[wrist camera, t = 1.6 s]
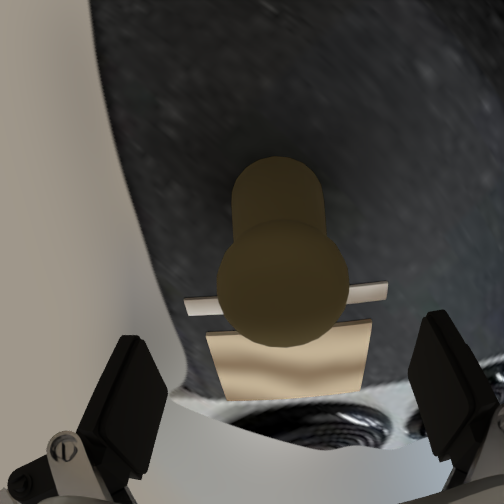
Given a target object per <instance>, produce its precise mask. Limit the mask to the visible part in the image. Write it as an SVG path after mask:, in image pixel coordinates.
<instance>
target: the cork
mask: <svg viewBox="0 0 504 504" xmlns="http://www.w3.org/2000/svg"><path fill="white" fill-rule="evenodd" d="M231 206H232V222H233V238H234V243H233V244H232V245H231V246H230V247H229V248H228V250H227V251H226V252H225V254H224V257H223V259H222V262H221V265H220V267H219V270H218V274H217V297H218V302H219V305H220V307H221V309H222V312H223V314H224V316H225V318H226V319H227V320H228V322H229V323H230V324H231V325H232V326H233V327H234V328H235V329H236V330H237V332H238V333H239V334H240V335H242V336H244V337H245V338H247V339H249V340H251V341H252V342H254V343H258V344H261V345H265V346H268V347H280V348H288V347H294V346H300V345H304V344H307V343H309V342H311V341H314V340H316V339H318V338H320V337H321V336H322V335H324V334H325V333H326V332H328V331H329V330H330V329H331V328H332V327H333V326H334V324H335V323H336V321H337V320H338V319H339V317H340V316H341V314H342V313H343V311H344V309H345V306H346V303H347V299H348V295H349V276H348V268H347V265H346V263H345V260H344V258H343V257H342V255H341V253H340V251H339V249H338V248H337V246H336V244H335V243H334V242H333V241H332V240H330V239H329V238H328V237H327V233H326V219H325V207H324V197H323V192H322V187H321V184H320V182H319V180H318V179H317V177H316V175H315V174H314V172H313V171H312V170H310V169H309V168H308V167H307V166H306V165H305V164H303V163H301V162H299V161H297V160H294V159H292V158H289V157H278V156H272V157H268V158H264V159H260V160H258V161H256V162H254V163H253V164H251V165H249V166H248V167H246V168H245V169H244V171H243V172H242V173H241V174H240V175H239V177H238V178H237V179H236V182H235V184H234V187H233V190H232V202H231Z"/></svg>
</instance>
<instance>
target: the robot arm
mask: <svg viewBox="0 0 504 504" xmlns="http://www.w3.org/2000/svg"><path fill="white" fill-rule="evenodd" d="M408 379H409V382H410V384H411V387H412V390H413V393H414V396H415V399H416V401H417V404H418V407H419V410H420V413H421V416H422V420H423V423H424V426H425V429H426V432H427V435H428V439H429V442H430V445H431V449H432V452H433V454H434V456H438V458H439V461H440V462H443V461H446V460H449V459H451V461H452V465H453V469H452V471H451V473H450V475H449V477H448V479H447V481H446V483H445V485H444V487H443V489H442V491H441V492H439V493H436V494H432V495H429V496H426V497H422V498H418V499H415V500H411V501H407V502H403V503H399V504H504V403H503V404H501V405H500V404H499V402H498V400H497V398H496V396H495V394H494V392H493V390H492V388H491V386H490V384H489V382H488V380H487V378H486V376H485V374H484V372H483V370H482V369H481V367H480V365H479V363H478V361H477V359H476V358H475V356H474V354H473V352H472V351H471V349H470V347H469V346H468V345H467V344H466V343H465V342H464V340H463V338H462V337H461V335H460V333H459V332H458V330H457V328H456V327H455V325H454V323H453V322H452V320H451V318H450V317H449V315H448V314H447V312H446V311H445V310H437V311H431V312H428V313H427V315H426V317H424V318H423V319H422V322H421V326H420V330H419V334H418V338H417V341H416V345H415V348H414V352H413V355H412V359H411V362H410V365H409V368H408ZM167 396H168V390H167V387H166V385H165V383H164V381H163V379H162V377H161V375H160V373H159V371H158V369H157V366H156V364H155V362H154V360H153V358H152V356H151V354H150V352H149V349H148V347H147V345H146V343H145V341H144V340H142V339H140V337H139V336H137V335H122V336H121V337H120V339H119V341H118V343H117V345H116V347H115V349H114V351H113V353H112V355H111V357H110V359H109V361H108V363H107V365H106V367H105V369H104V371H103V373H102V375H101V377H100V379H99V382H98V384H97V386H96V388H95V390H94V392H93V395H92V397H91V399H90V401H89V403H88V406H87V408H86V410H85V413H84V415H83V417H82V419H81V422H80V424H79V426H78V429H77V431H76V433H74V432H72V431H62V432H59V433H57V434H56V435H54V436H53V437H52V438H51V439H50V441H49V443H48V445H47V450H46V451H47V454H46V455H44V456H42V457H40V458H38V459H36V460H34V461H32V462H30V463H28V464H26V465H24V466H22V467H20V468H18V469H16V470H15V471H13V472H12V474H11V475H10V477H9V479H8V485H7V486H8V489H5V488H3V489H2V490H1V491H0V504H137V502H136V500H135V499H134V497H133V495H132V493H131V491H130V490H129V488H128V486H127V483H128V480H129V478H132V479H138V480H141V479H142V475H143V474H145V473H146V472H147V470H148V467H149V463H150V459H151V455H152V452H153V448H154V444H155V440H156V436H157V433H158V429H159V425H160V421H161V418H162V414H163V411H164V407H165V403H166V400H167Z"/></svg>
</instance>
